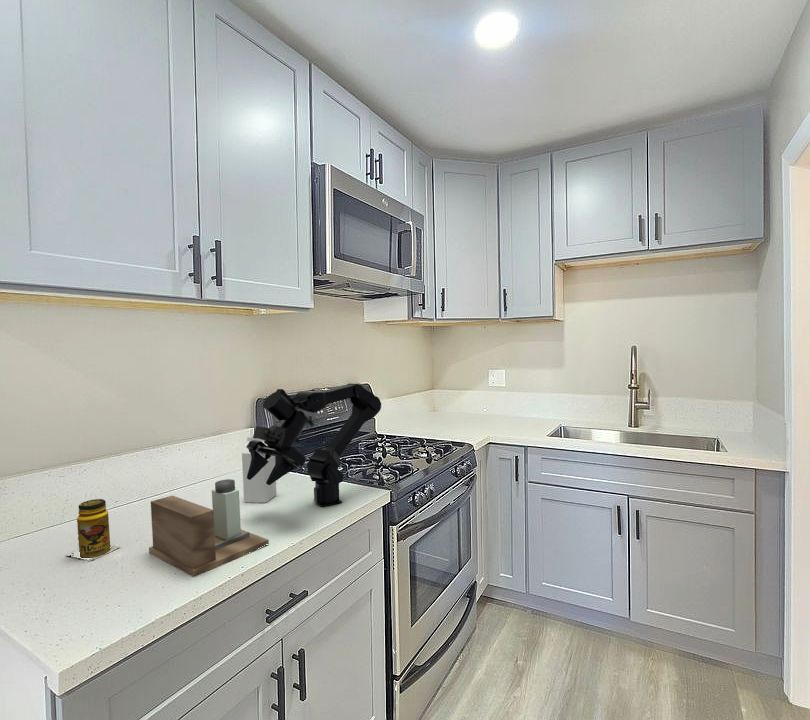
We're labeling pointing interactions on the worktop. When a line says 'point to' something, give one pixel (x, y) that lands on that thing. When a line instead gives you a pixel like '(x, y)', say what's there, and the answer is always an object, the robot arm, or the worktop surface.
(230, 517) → the pale green capped bottle
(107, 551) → the condiment
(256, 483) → the milk carton
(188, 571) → the knob mount
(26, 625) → the worktop surface
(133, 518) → the worktop surface
